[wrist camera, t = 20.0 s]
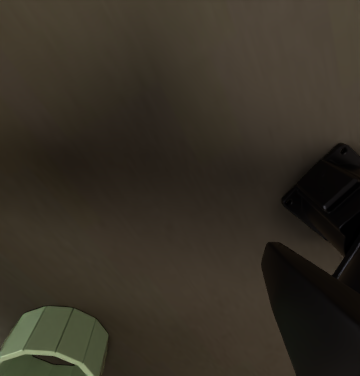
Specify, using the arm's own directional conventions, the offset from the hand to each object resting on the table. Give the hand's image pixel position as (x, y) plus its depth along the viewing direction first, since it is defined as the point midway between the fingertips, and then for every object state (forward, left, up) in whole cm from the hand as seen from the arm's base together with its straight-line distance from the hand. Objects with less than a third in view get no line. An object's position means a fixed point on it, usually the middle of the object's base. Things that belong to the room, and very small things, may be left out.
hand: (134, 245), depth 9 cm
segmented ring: (-5, +23, -12) cm, 26 cm away
